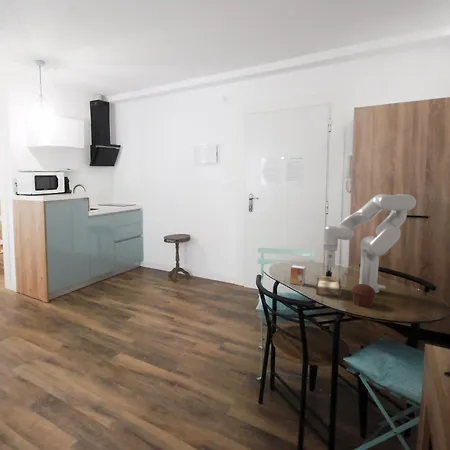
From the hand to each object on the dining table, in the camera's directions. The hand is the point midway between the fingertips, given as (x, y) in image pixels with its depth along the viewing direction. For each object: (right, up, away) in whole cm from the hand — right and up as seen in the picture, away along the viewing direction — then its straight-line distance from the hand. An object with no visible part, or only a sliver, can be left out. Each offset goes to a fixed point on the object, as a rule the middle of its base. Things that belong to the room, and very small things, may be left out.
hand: (328, 278), depth 201 cm
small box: (-16, -5, +11) cm, 20 cm away
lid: (-2, -2, -7) cm, 8 cm away
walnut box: (-1, -7, -3) cm, 8 cm away
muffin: (+11, -10, -22) cm, 26 cm away
